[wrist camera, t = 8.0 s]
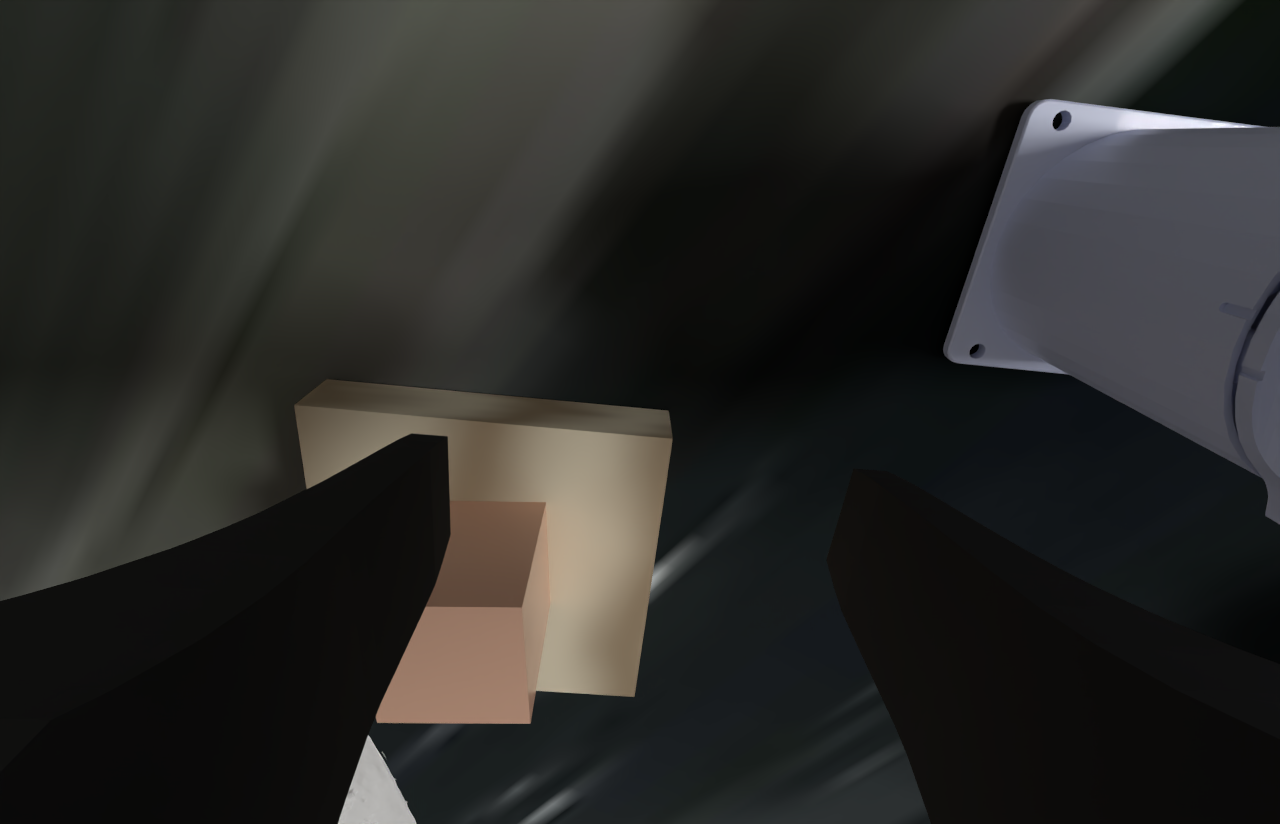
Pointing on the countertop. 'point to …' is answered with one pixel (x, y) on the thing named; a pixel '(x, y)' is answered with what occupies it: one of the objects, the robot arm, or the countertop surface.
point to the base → (533, 499)
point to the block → (479, 622)
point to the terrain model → (374, 793)
